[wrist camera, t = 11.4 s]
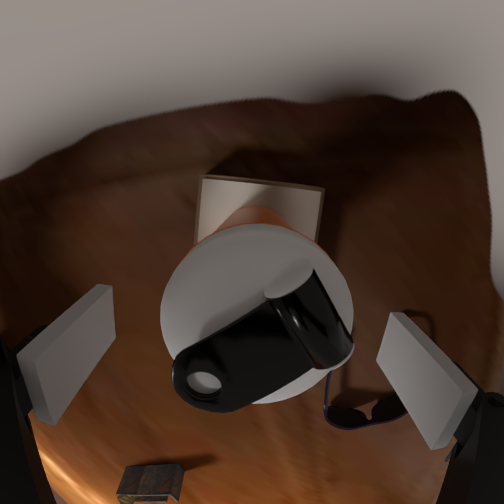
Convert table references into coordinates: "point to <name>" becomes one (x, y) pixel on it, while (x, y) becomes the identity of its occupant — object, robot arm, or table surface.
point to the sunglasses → (356, 418)
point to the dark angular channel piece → (150, 483)
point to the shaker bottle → (254, 314)
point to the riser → (257, 202)
